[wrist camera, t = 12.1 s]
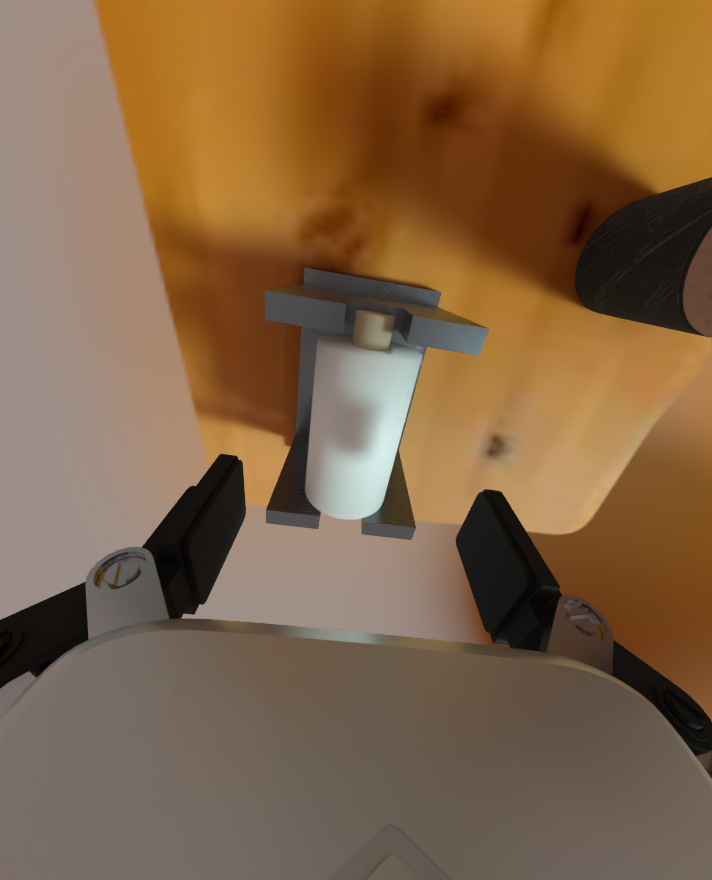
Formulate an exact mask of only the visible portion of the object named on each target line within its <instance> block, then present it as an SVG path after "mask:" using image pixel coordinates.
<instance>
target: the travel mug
mask: <svg viewBox="0 0 712 880" xmlns="http://www.w3.org/2000/svg"><path fill="white" fill-rule="evenodd" d="M575 283H576V290H577V294H578V296H579V298H580V300H581V301H582V303H583V304H584V305H585V306H586V307H587V308H589V309H590V310H592V311H594V312H597V313H600V314H605V315H609V316H613V317H618V318H622V319H627V320H631V321H636V322H641V323H645V324H650V325H655V326H659V327H664V328H668V329H673V330H678V331H682V332H687V333H692V334H696V335H701V336H706V337H711V338H712V177H711V178H708V179H705V180H701V181H698V182H695V183H692V184H688V185H685V186H682V187H679V188H675V189H672V190H669V191H666V192H662V193H659V194H656V195H653V196H650V197H647V198H644V199H641V200H639V201H636V202H633V203H631V204H629V205H627V206H625V207H623V208H622V209H620V210H619V211H617V212H616V213H614V214H613V215H612V216H610V217H609V218H608V219H607V220H606V221H605V222H604V223H603V224H602V225H601V226H600V227H599V228H598V229H597V230H596V231H595V233H594V234H593V235H592V237H591V238H590V240H589V241H588V243H587V244H586V246H585V248H584V250H583V252H582V254H581V257H580V259H579V262H578V266H577V270H576V280H575Z"/></svg>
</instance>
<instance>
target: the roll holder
mask: <svg viewBox="0 0 712 880" xmlns="http://www.w3.org/2000/svg"><path fill="white" fill-rule="evenodd" d="M440 296H441V292H439V291H434V290H428V289H422V288H417V287H411V286H406V285H400V284H394V283H389V282H383V281H378V280H372V279H366V278H361V277H355V276H350V275H344V274H338V273H333V272H327V271H322V270H316V269H310V268H304V284H298V285H292V286H287V287H281V288H275V289H269V290H265V320H266V321H272V322H279V323H285V324H291V325H297V326H301V339H300V358H299V376H298V394H297V413H296V431H295V438H294V440H293V443H292V445H291V448H290V450H289V453H288V456H287V458H286V461H285V463H284V466H283V468H282V471H281V473H280V476H279V478H278V481H277V483H276V486H275V488H274V491H273V493H272V496H271V499H270V501H269V504H268V506H267V509H266V523H270V524H280V525H287V526H296V527H305V528H314V529H318V527H319V520H320V514H321V512H320V511H319V510H317V509H316V508H315V507H314V506H313V505H312V504H311V503H310V502H309V500H308V499H307V496H306V493H305V482H306V470H307V458H308V446H309V434H310V422H311V410H312V398H313V386H314V374H315V362H316V350H317V339H318V337H319V336H321V335H324V334H332V333H344V334H353V330H354V323H355V316H356V310H367V311H374V312H380V313H384V314H388V315H392V316H394V317H395V322H394V326H393V331H392V336H391V341H393V342H396V343H400V344H403V345H405V346H408V347H410V348H413V349H415V350H416V351H418V352H419V353H420V354H421V355H422V360H421V364H420V367H419V371H418V375H417V378H416V382H415V386H414V389H413V393H412V397H411V401H410V404H409V408H408V412H407V415H406V419H405V423H404V426H403V430H402V434H401V438H400V441H399V445H398V449H397V452H396V456H395V460H394V464H393V467H392V471H391V475H390V478H389V482H388V486H387V489H386V493H385V497H384V501H383V503H382V506H381V507H380V508H379V509H378V510H377V511H376V512H375V513H374V514H372V515H370V516H367V517H365V518H362V534H365V535H374V536H382V537H391V538H399V539H408V540H411V539H412V537H413V534H414V531H415V529H416V527H415V522H414V517H413V513H412V508H411V504H410V499H409V495H408V490H407V486H406V481H405V477H404V472H403V468H402V463H401V459H400V454H399V447H400V443H401V439H402V436H403V432H404V428H405V425H406V421H407V417H408V414H409V410H410V406H411V403H412V399H413V395H414V392H415V388H416V384H417V380H418V377H419V373H420V369H421V366H422V362H423V358H424V355H425V351H426V347H431V348H437V349H443V350H449V351H455V352H461V353H467V354H473V355H480V352H481V350H482V347H483V344H484V341H485V339H486V336H487V333H488V331H489V329H488V328H486V327H484V326H481V325H479V324H477V323H474V322H472V321H470V320H467V319H465V318H462V317H460V316H458V315H455V314H453V313H451V312H448V311H446V310H443V309H441V308H439V307H438V303H439V300H440Z"/></svg>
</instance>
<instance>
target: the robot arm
mask: <svg viewBox="0 0 712 880" xmlns="http://www.w3.org/2000/svg"><path fill="white" fill-rule="evenodd" d="M245 513H246V506H245V491H244V476H243V463H242V461H241V460H238V457H237V456H233V455H226V454H220V455H219V456H218V458H217V459H216V460H215V462H214V463H213V464H212V466H211V467H210V468H209V470H208V471H207V472H206V474H205V475H204V476H203V478H202V479H201V480H200V482H199V483H198V484H197V486H191V487H189V488H188V489H187V490H186V491H185V493H184V494H183V495H182V497H181V498H180V499H179V500H178V502H177V503H176V504H175V505H174V507H173V508H172V509H171V511H170V512H169V513H168V514H167V516H166V517H165V518H164V519H163V521H162V522H161V523H160V525H159V526H158V527H157V528H156V530H155V531H154V532H153V534H152V535H151V536H150V538H149V539H148V540H147V541H146V543H145V544H144V545H143V546H142V548H140V547H129V548H124V549H121V550H118V551H115V552H114V553H111V554H109V555H107V556H106V557H104V558H103V559H101V560H100V561H99V562H98V563H97V564H96V565H95V566H94V567H93V568H92V569H91V570H90V572H89V574H88V576H87V578H86V582H84V583H82V584H80V585H77V586H75V587H73V588H71V589H69V590H66V591H64V592H62V593H59V594H57V595H55V596H53V597H51V598H48V599H46V600H44V601H42V602H39V603H37V604H35V605H33V606H30V607H28V608H26V609H24V610H21V611H19V612H17V613H15V614H13V615H10V616H8V617H6V618H4V619H1V620H0V880H712V722H711V720H710V718H709V717H708V716H707V714H706V713H705V712H704V711H703V709H702V708H701V707H700V706H699V705H698V704H697V703H696V702H695V701H694V700H693V699H692V698H691V697H690V696H689V695H688V694H687V693H685V692H684V691H683V690H682V689H680V688H679V687H678V686H677V685H675V684H674V683H672V682H671V681H670V680H668V679H667V678H665V677H664V676H663V675H661V674H660V673H659V672H657V671H656V670H654V669H653V668H652V667H650V666H649V665H647V664H646V663H645V662H643V661H642V660H640V659H639V658H638V657H636V656H635V655H634V654H632V653H631V652H629V651H628V650H627V649H625V648H624V647H623V646H621V645H620V644H618V643H617V642H616V641H614V639H613V638H614V637H613V631H612V629H611V627H610V625H609V623H608V622H607V620H606V619H605V618H604V616H603V615H602V614H601V613H600V612H599V611H598V610H597V609H596V608H595V607H594V606H592V605H591V604H590V603H588V602H587V601H585V600H583V599H581V598H579V597H576V596H573V595H564V596H562V594H561V593H560V591H559V589H560V586H559V584H558V583H557V581H556V579H555V578H554V576H553V575H552V573H551V571H550V570H549V568H548V567H547V565H546V563H545V562H544V560H543V559H542V557H541V555H540V553H539V552H538V550H537V549H536V547H535V545H534V544H533V542H532V540H531V539H530V537H529V536H528V534H527V532H526V531H525V529H524V527H523V526H522V524H521V523H520V521H519V519H518V518H517V516H516V515H515V513H514V511H513V510H512V508H511V506H510V505H509V503H508V502H507V500H506V498H505V497H504V495H503V494H502V492H500V491H495V490H488V489H485V490H483V492H480V493H479V494H478V495H477V497H476V499H475V501H474V503H473V505H472V507H471V509H470V511H469V513H468V515H467V517H466V519H465V521H464V523H463V525H462V527H461V529H460V531H459V533H458V535H457V537H456V545H457V549H458V552H459V554H460V557H461V560H462V563H463V566H464V569H465V572H466V575H467V578H468V581H469V584H470V587H471V590H472V593H473V596H474V599H475V602H476V605H477V608H478V611H479V614H480V617H481V620H482V623H483V626H484V628H485V630H486V632H488V633H490V636H491V638H492V642H493V644H503V645H509V646H510V648H508V647H500V646H491V645H482V644H472V643H462V642H452V641H443V640H433V639H423V638H413V637H403V636H393V635H383V634H372V633H362V632H351V631H341V630H330V629H320V628H309V627H297V626H287V625H276V624H265V623H252V622H239V621H226V620H212V619H181V617H182V615H183V614H195V612H196V610H197V608H198V606H199V604H204V603H205V602H206V600H207V598H208V596H209V594H210V592H211V590H212V587H213V585H214V583H215V581H216V579H217V577H218V575H219V573H220V570H221V568H222V566H223V564H224V562H225V560H226V557H227V555H228V553H229V551H230V549H231V547H232V545H233V542H234V540H235V538H236V536H237V534H238V532H239V529H240V527H241V525H242V523H243V521H244V518H245Z"/></svg>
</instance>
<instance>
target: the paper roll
mask: <svg viewBox="0 0 712 880" xmlns="http://www.w3.org/2000/svg"><path fill="white" fill-rule="evenodd" d="M394 322H395V317H394V316H392V315H388V314H384V313H380V312H374V311H367V310H356V316H355V323H354V330H353V334H344V333H332V334H324V335H321V336H319V337H318V339H317V350H316V362H315V374H314V386H313V398H312V410H311V422H310V434H309V446H308V458H307V470H306V482H305V493H306V496H307V499H308V500H309V502H310V503H311V504H312V505H313V506H314V507H315V508H316V509H317V510H319V511H320V512H322V513H324V514H326V515H329V516H331V517H335V518H339V519H340V518H341V519H360V518H365V517H367V516H370V515H372V514H374V513H375V512H376V511H377V510H378V509H379V508H380V507H381V506H382V503H383V501H384V497H385V493H386V489H387V486H388V482H389V478H390V475H391V471H392V467H393V464H394V460H395V456H396V452H397V449H398V445H399V441H400V438H401V434H402V430H403V426H404V423H405V419H406V415H407V412H408V408H409V404H410V401H411V397H412V393H413V389H414V386H415V382H416V378H417V375H418V371H419V367H420V364H421V360H422V355H421V354H420V353H419V352H418V351H416V350H415V349H413V348H410V347H408V346H405V345H403V344H400V343H396V342H393V341H391V336H392V331H393V326H394Z"/></svg>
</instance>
